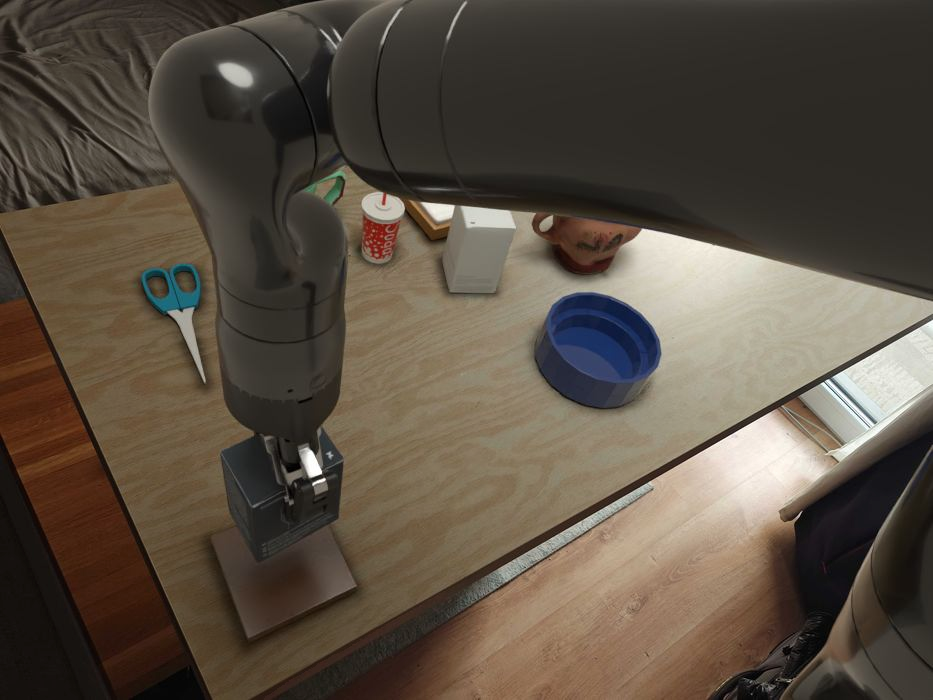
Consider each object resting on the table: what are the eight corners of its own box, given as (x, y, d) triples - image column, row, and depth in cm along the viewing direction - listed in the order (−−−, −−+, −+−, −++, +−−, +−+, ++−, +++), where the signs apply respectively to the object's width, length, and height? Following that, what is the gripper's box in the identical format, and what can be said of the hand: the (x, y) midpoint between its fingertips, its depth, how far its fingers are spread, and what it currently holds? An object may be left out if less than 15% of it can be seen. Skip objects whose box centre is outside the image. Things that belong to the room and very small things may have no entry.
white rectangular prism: (496, 294, 99) (517, 229, 90) (448, 293, 97) (465, 226, 88) (487, 260, 104) (506, 195, 94) (440, 259, 102) (456, 192, 92)
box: (308, 472, 61) (311, 407, 54) (339, 520, 59) (347, 460, 51) (226, 512, 57) (217, 449, 50) (256, 566, 55) (251, 508, 47)
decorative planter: (539, 296, 101) (568, 225, 90) (502, 243, 107) (525, 171, 97) (639, 273, 109) (676, 206, 99) (599, 226, 116) (630, 158, 105)
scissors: (192, 261, 89) (234, 373, 80) (193, 266, 90) (234, 378, 80) (138, 270, 86) (174, 388, 77) (140, 275, 87) (175, 393, 77)
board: (356, 591, 67) (357, 585, 66) (248, 643, 62) (247, 638, 61) (313, 501, 72) (314, 494, 71) (211, 542, 67) (210, 536, 66)
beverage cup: (364, 269, 97) (373, 192, 86) (351, 242, 100) (358, 164, 89) (402, 264, 99) (416, 187, 89) (389, 237, 102) (400, 160, 92)
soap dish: (390, 200, 108) (394, 174, 105) (439, 188, 113) (445, 163, 109) (430, 248, 103) (436, 223, 99) (480, 233, 108) (487, 208, 104)
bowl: (665, 387, 94) (684, 361, 89) (579, 425, 86) (595, 398, 82) (597, 309, 102) (612, 281, 97) (512, 337, 94) (524, 308, 90)
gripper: (185, 284, 43) (208, 427, 55) (264, 462, 36) (270, 579, 48) (296, 259, 46) (295, 399, 59) (388, 417, 39) (364, 537, 52)
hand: (283, 480), depth 53 cm, fingers closed on box, 6 cm apart
